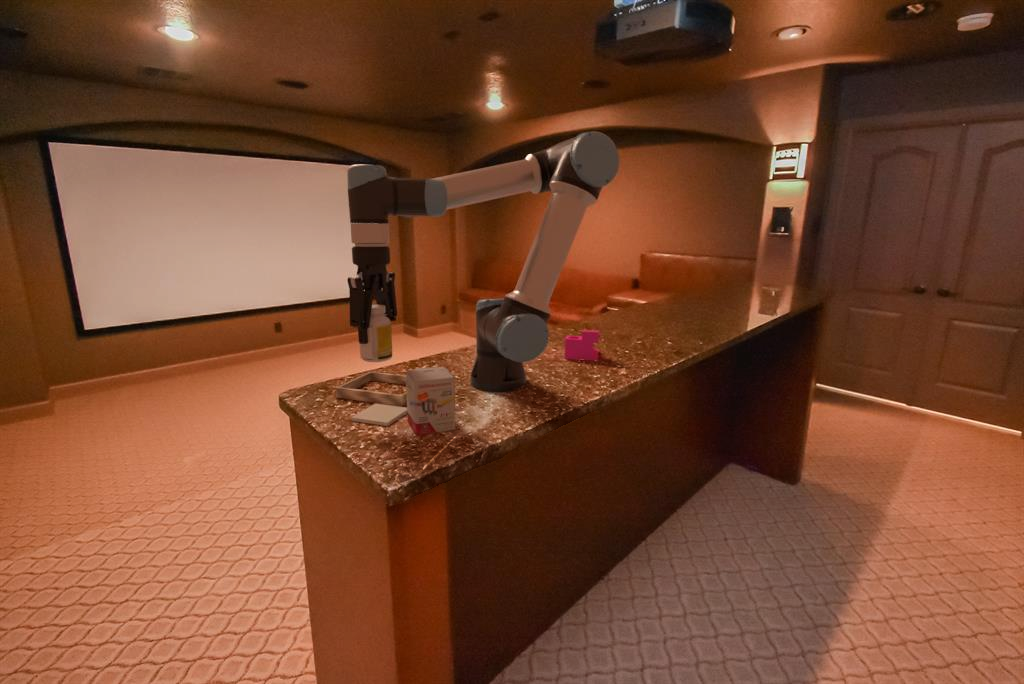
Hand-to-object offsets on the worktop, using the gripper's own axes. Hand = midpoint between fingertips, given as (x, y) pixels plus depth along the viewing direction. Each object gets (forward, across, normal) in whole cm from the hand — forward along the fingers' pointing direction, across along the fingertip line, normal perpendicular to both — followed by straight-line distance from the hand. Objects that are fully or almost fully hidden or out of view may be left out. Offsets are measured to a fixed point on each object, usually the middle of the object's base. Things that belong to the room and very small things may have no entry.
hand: (376, 353), depth 103 cm
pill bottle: (+1, 0, 0) cm, 1 cm away
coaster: (+14, 0, 0) cm, 14 cm away
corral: (+14, -14, -8) cm, 22 cm away
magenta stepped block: (+14, -64, +34) cm, 74 cm away
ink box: (+15, +1, +13) cm, 20 cm away
